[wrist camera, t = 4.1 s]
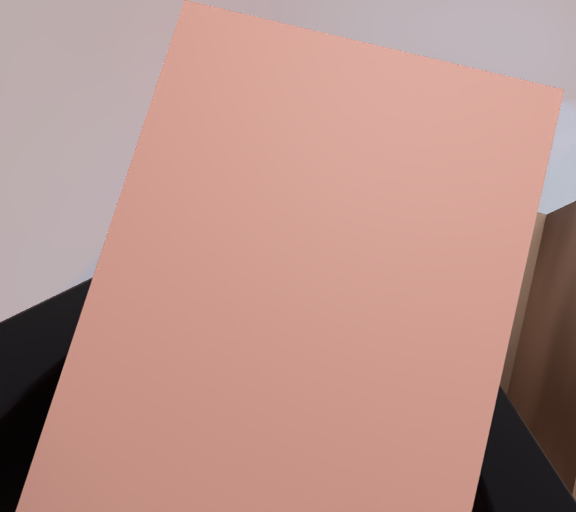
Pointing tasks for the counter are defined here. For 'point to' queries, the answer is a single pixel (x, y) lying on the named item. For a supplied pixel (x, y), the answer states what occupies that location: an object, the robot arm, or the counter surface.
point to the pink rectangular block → (300, 282)
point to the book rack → (547, 342)
